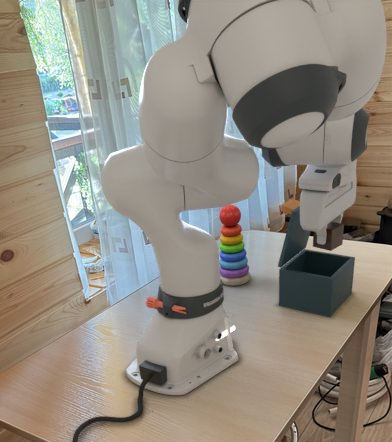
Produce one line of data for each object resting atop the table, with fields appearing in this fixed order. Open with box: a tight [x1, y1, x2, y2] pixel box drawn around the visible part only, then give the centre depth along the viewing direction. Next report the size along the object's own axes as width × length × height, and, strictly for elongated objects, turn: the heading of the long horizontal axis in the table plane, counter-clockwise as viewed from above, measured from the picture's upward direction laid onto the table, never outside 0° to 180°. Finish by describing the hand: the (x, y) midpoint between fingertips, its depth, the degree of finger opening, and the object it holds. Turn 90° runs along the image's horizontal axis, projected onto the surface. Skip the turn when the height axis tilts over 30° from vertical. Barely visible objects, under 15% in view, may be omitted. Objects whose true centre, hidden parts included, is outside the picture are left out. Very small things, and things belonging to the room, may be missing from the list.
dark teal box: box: [278, 248, 356, 318], centre depth 114 cm, size 12×13×9 cm
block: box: [312, 222, 345, 252], centre depth 107 cm, size 4×4×4 cm
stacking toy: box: [218, 204, 251, 286], centre depth 123 cm, size 8×8×19 cm
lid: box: [277, 198, 312, 269], centre depth 111 cm, size 13×13×5 cm
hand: (328, 238), depth 107 cm, fingers closed on block, 5 cm apart
